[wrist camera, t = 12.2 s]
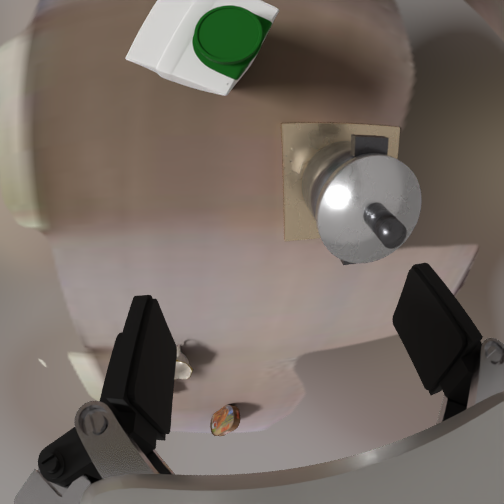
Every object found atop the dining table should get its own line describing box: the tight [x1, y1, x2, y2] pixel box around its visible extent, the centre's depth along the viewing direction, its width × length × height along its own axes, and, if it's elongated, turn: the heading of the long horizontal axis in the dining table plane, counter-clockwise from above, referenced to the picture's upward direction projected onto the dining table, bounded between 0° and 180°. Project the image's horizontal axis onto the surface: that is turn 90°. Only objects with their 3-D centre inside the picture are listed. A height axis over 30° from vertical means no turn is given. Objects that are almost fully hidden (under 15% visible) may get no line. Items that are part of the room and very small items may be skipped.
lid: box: [315, 153, 422, 263], centre depth 28 cm, size 14×14×6 cm
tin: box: [210, 405, 240, 436], centre depth 74 cm, size 15×3×8 cm, turn 146°
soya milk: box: [125, 0, 279, 95], centre depth 20 cm, size 9×9×20 cm
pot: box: [281, 122, 400, 265], centre depth 35 cm, size 18×18×10 cm
